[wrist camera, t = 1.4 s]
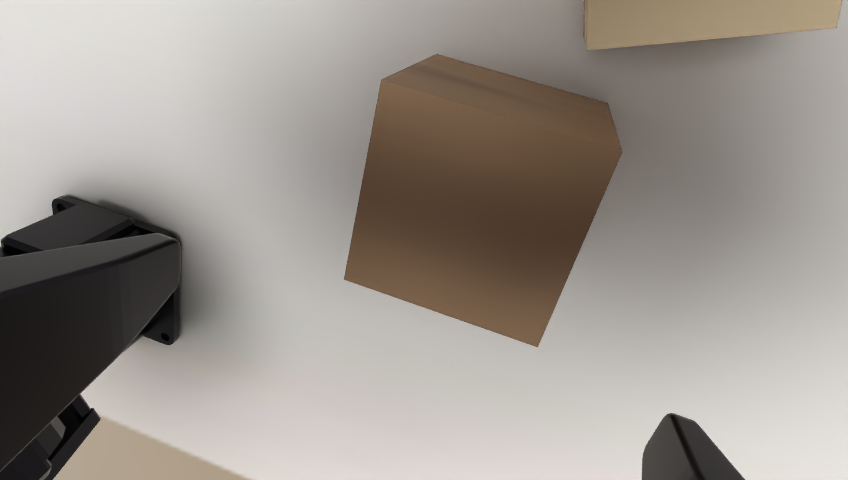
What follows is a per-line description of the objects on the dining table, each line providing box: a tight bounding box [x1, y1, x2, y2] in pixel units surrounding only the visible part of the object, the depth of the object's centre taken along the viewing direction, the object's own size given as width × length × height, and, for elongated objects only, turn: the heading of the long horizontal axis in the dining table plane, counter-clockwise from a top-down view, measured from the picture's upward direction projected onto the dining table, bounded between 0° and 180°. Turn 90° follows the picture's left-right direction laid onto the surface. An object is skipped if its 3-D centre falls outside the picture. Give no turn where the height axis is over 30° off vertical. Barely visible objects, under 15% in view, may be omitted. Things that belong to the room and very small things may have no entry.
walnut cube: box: [344, 54, 622, 347], centre depth 17 cm, size 6×6×6 cm
